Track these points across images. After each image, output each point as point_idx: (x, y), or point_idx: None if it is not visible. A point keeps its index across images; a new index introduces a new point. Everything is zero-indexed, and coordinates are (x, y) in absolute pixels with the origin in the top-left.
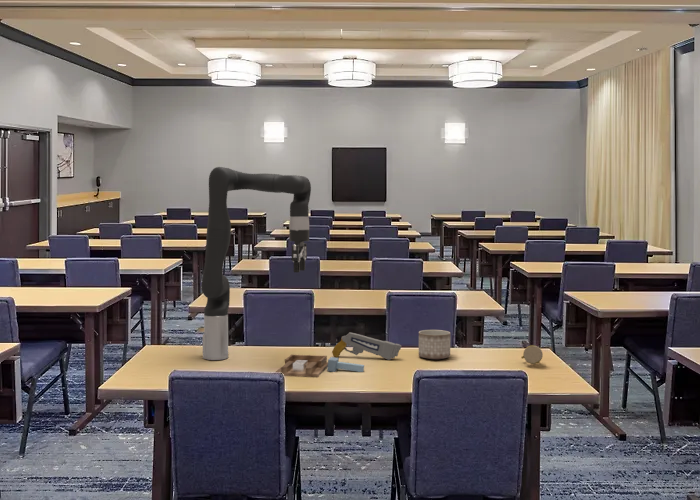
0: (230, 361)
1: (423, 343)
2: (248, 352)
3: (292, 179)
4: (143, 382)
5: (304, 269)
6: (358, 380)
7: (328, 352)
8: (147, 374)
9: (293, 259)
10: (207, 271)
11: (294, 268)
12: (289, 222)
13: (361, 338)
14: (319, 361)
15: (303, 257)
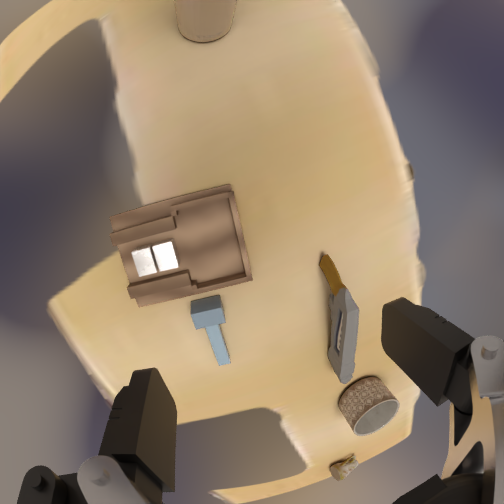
0: (201, 53)
1: (353, 407)
2: (305, 50)
3: None
4: (18, 56)
5: (385, 352)
6: None
7: (369, 218)
8: (62, 18)
9: (43, 491)
10: None
11: (114, 408)
12: None
13: (342, 333)
14: (192, 289)
15: (454, 434)
